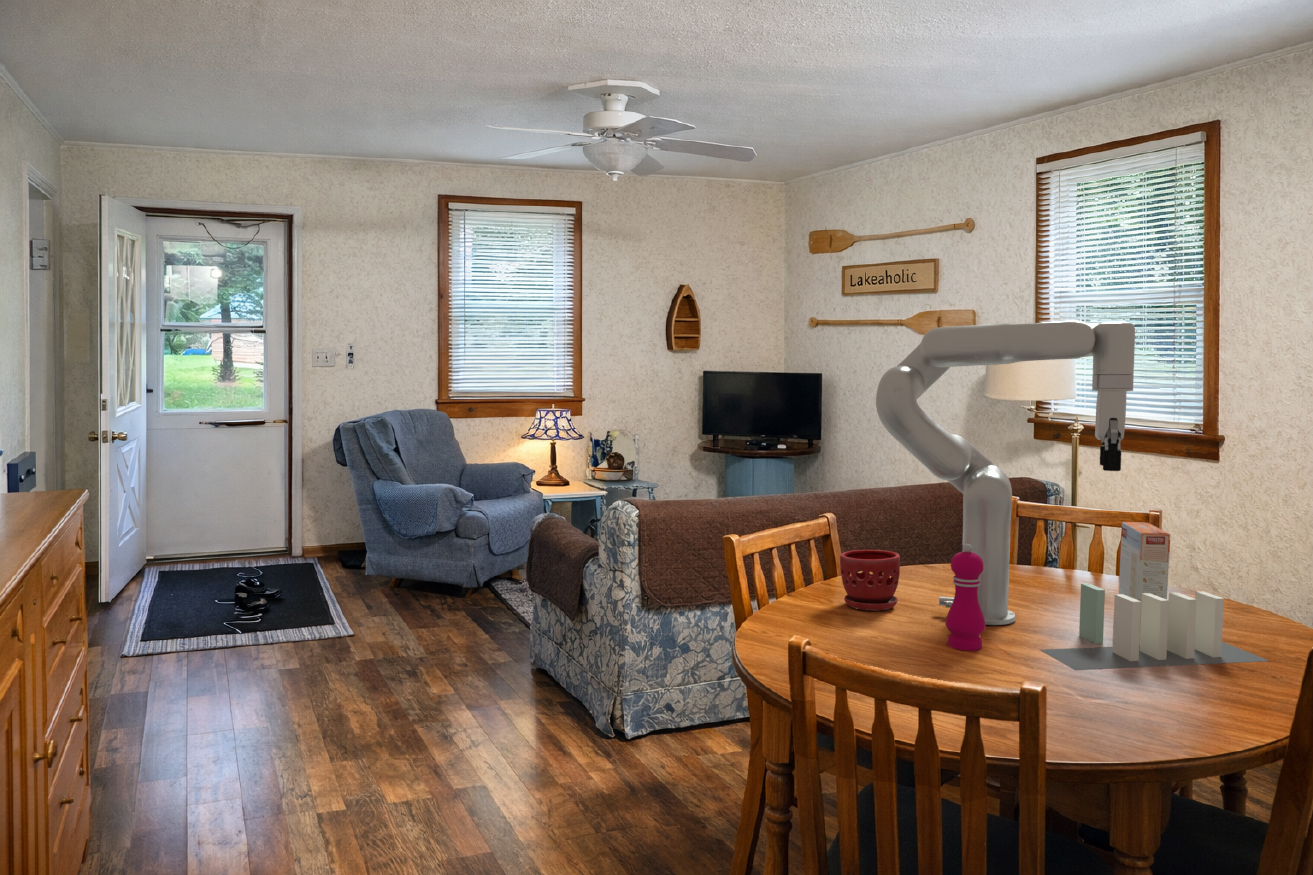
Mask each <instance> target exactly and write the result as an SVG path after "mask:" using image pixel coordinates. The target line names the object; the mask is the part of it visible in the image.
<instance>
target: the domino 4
mask: <svg viewBox="0 0 1313 875" xmlns="http://www.w3.org/2000/svg"><path fill="white" fill-rule="evenodd" d="M1194 599H1197V603H1196V624H1195V645H1194V649H1195V650H1197V651H1200V652H1202V653H1204V654H1206V655H1209V656H1211V657H1221V649H1222V642H1223V628H1224V627H1223V626H1224V624H1223V623H1224V608H1225V607H1224V604H1225V598H1224V597H1221V596H1218V595H1215V594H1212V593H1209V592H1207V591H1204V590H1203V591H1202V590H1201V591H1198V590H1197V591H1195V597H1194Z"/></svg>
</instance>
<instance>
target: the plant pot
mask: <svg viewBox="0 0 1313 875" xmlns="http://www.w3.org/2000/svg"><path fill="white" fill-rule="evenodd" d="M839 567H840V568H839V570H840V575H841V582H842V585H843V589H844V591H845V592H846V595H845V596H844V602H845V604H847V606H849V607H850V608H853V609H856V608H857V609H862V611H868V610H871V611H870V612H872V611H873V612H874V611H875V612H877V611H878V612H880V611H879V610H881V611H886V610H887V611H888V610H890V608H891V609H892V608H894V607H895V606H896V605H897V604H898V600H899V599H898V597H897V596H895V593H896V591H897V589H898V585H899V581H900V580H899V579H900V572H901V570H900V569H901V555H900V554H899V553H898V552H895V551H890V550H881V549H855V550H848V551H843V552H842V553H841V554H840V555H839ZM858 571H861V572H858ZM857 609H856V610H857Z"/></svg>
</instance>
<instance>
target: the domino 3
mask: <svg viewBox="0 0 1313 875" xmlns="http://www.w3.org/2000/svg"><path fill="white" fill-rule="evenodd" d="M1168 600H1169V612H1168V633H1167V650H1168V651H1170V652H1172V653H1174V654H1177V655H1179V656H1181V657H1183V658H1185V659H1190V658H1194V645H1195V624H1196V603H1197V599H1195V597H1194V598H1193V597H1191V596H1189V595H1185V594H1183V593H1181V592H1176V591H1174V592H1168Z"/></svg>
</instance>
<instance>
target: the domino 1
mask: <svg viewBox="0 0 1313 875" xmlns="http://www.w3.org/2000/svg"><path fill="white" fill-rule="evenodd" d="M1113 602H1114V604H1113V606H1114V607H1113V624H1112V626H1113V627H1112V647H1113V648H1112V652H1113V653H1115V654H1117V655H1119V656H1121V657H1123V658H1125V659H1127V660H1129V661H1139V645H1140V615H1141V601H1139V600H1136V599H1134V598H1131V597H1129V596H1126V595H1123V594H1119V593H1117V594H1116V593H1115V594H1114V601H1113Z"/></svg>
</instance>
